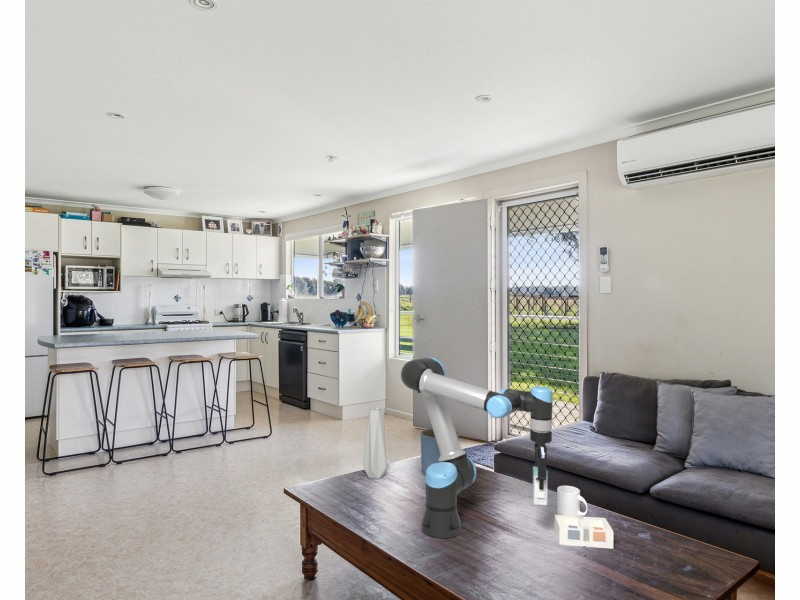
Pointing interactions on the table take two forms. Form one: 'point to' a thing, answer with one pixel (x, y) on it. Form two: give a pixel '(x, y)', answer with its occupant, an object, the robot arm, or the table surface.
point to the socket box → (583, 531)
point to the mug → (569, 501)
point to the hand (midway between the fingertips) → (539, 494)
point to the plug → (536, 500)
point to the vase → (375, 445)
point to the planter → (429, 449)
